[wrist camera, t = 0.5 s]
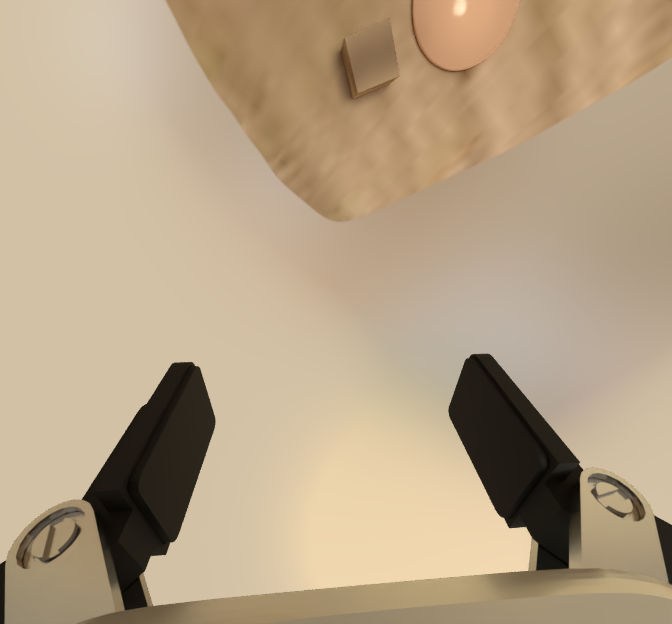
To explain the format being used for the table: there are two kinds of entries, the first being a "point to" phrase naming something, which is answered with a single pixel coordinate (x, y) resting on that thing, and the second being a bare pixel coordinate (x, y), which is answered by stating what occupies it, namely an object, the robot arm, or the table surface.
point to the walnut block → (370, 58)
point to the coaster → (461, 29)
